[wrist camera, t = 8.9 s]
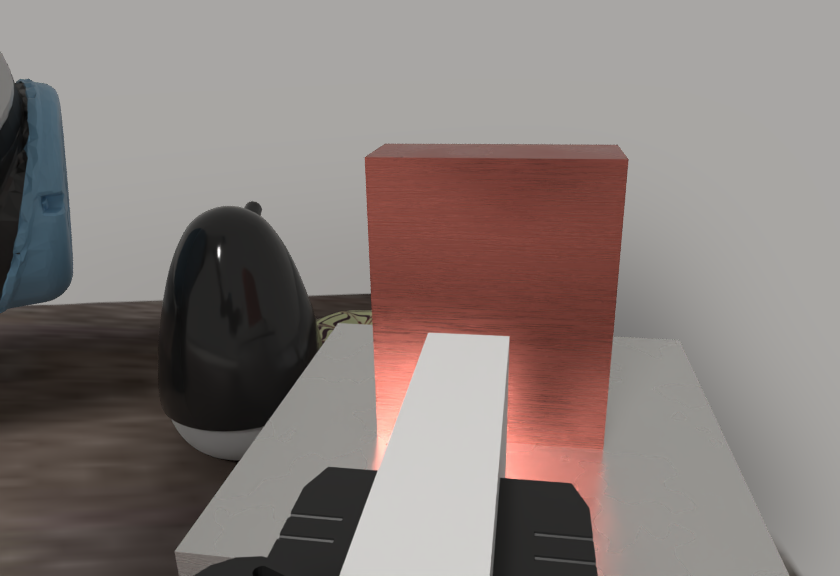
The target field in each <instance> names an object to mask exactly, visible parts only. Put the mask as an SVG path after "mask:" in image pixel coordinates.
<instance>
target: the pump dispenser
mask: <svg viewBox="0 0 840 576" xmlns="http://www.w3.org/2000/svg"><path fill="white" fill-rule="evenodd" d="M261 211H262V208H261V206H260V205H259V204H258V203H257V202H253V201H252V202H249V203H247V204H246V206H245V208H241V207H235V206H222V207H217V208H213V209H211V210H208V211H206V212H204V213H202V214H201V215H199V216H198V217H197V218H195V219H194V220H193V221H192V222H191V223H190V224H189V226H188V227H187V229H186V230H185V232H184V233H183V235H182V237H181V239H180V241H179V243H178V246H177V248H176V250H175V253H174V256H173V259H172V262H171V265H170V269H169V273H168V277H167V282H166V287H165V292H164V298H163V305H162V312H161V319H160V328H159V340H158V389H159V397H160V402H161V406H162V409H163V411H164V412H165V414H166V415H167V416H168V417H169V418H171V420H172V422H173V424H174V425H175V427H176V429H177V430H178V432H179V433H180V435H181V436H182V437H183V438H184V439H185V440H186V441H187V442H188V443H189V444H190V445H191V446H193V447H194V448H196V449H197V450H199V451H201V452H203V453H205V454H207V455H210V456H212V457H216V458H220V459H226V460H241V458H242V457H243V455H244V454H245V453H246V451H247V450H248V448H249V447H250V446H251V444H252V443H253V441H254V440H255V439H256V437H257V436H258V434H259V433H260V432H261V430H262V429H263V427H264V426H265V425H266V423H267V422H268V420H269V419H270V418H271V416H272V415H273V413H274V412H275V411H276V409H277V408H278V406H279V405H280V404H281V402H282V401H283V399H284V398H285V397H286V395H287V394H288V393H289V391H290V390H291V388H292V387H293V386H294V384H295V383H296V381H297V380H298V379H299V377H300V376H301V374H302V373H303V372H304V370H305V369H306V367H307V366H308V365H309V363H310V362H311V360H312V359H313V358H314V356H315V355H316V353H317V352H318V351H319V349H320V348H321V346H322V345H323V344H322V340H321V336H320V332H319V328H318V325H317V321H316V318H315V315H314V311H313V309H312V306H311V303H310V300H309V297H308V295H307V292H306V289H305V287H304V284H303V282H302V279H301V277H300V275H299V272H298V270H297V268H296V266H295V263H294V261H293V259H292V257H291V255H290V254H289V252H288V250H287V248H286V246H285V245H284V243H283V242H282V240H281V239H280V237H279V236H278V234H277V233H276V232H275V230H274V229H273V228H272V227H271V226H270V224H269V223H268V222H267V221H266V220H265V219H263V218H262V217H261Z"/></svg>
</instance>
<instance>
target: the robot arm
mask: <svg viewBox="0 0 840 576" xmlns="http://www.w3.org/2000/svg"><path fill="white" fill-rule="evenodd" d="M66 170H67V169H66V159H65V148H64V136H63V126H62V116H61V108H60V102H59V98H58V94H57V92H56V90H55V89H54V88H52V87H51V86H49V85H48V84H44V83H36V82H33V81H32V80H30V79H25V80H24V79H20V80H18V81H17V82H16V83H14V80H13V77H12V74H11V72H10V69H9V67H8V64H7V63H6V61H5V59H4V57H3V55H2V53H1V52H0V313H2V312H4V311H6V309H9V308H15V307H20V306H26V305H32V304H37V303H43V302H47V301H51V300H53V299H55V298H57V297H59V296H60V295H62V294H63V293H64V292H65V291H66V290H67V288H68V287H69V285H70V283H71V280H72V277H73V253H72V237H71V236H72V235H71V222H70V207H69V194H68V182H67V171H66ZM509 337H510V336H493V335H471V334H449V333H428V335H427V337H426V340H425V343H424V346H423V348H422V351H421V354H420V356H419V359H418V362H417V365H416V367H415V370H414V373H413V376H412V378H411V381H410V384H409V387H408V389H407V392H406V395H405V397H404V400H403V403H402V406H401V408H400V411H399V414H398V417H397V419H396V422H395V425H394V428H393V430H392V433H391V436H390V439H389V441H388V444H387V447H386V449H385V452H384V455H383V458H382V460H381V463H380V466H379V469H378V471H377V470H365V469H352V468H339V467H327V468H326V469H325V470H324V471H322V472H321V473H320V474H319V475H318V476H316V477H315V478H314V479H313V480H312V481H310V482H309V483H308V484H307V485H305V486H304V487H303V489H302V491H301V493H300V495H299V497H298V499H297V501H296V503H295V505H294V507H293V509H292V511H291V515H290V517H288V518H287V520H286V522H285V524H284V526H283V528H282V530H281V532H280V536H279V539H276V541H275V543H274V545H273V547H272V549H271V551H270V553H269V555H268V557H263V556H255V557H236V558H233V559H229V560H226V561H223V562H220V563H216V564H213V565H210V566H208V567H207V568H205V569H203V570H202V571H200V572H199V573H197V574H195V575H194V576H598V573H597V567H596V557H595V548H594V542H593V532H592V524H591V515H590V508H589V507H588V505H587V504H586V502H585V501H584V500H583V498H582V497H581V496H580V494H579V493H578V491H577V490H576V489H575V487H574V486H573V484H572V483H563V482H550V481H537V480H525V479H512V478H505V472H506V447H507V411H508V374H509Z"/></svg>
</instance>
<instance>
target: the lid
mask: <svg viewBox="0 0 840 576" xmlns="http://www.w3.org/2000/svg"><path fill="white" fill-rule="evenodd" d="M627 169H628V158H627V157H626V155H625V154H624V153H623V152H622V150H621V149H620V147H619V146H618V145H546V144H540V145H539V144H534V145H533V144H528V145H527V144H384V145H383V146H381V147H379V148H378V149H376V150H375V151H373V152H372V153H370V154H369V155H367V156H366V157H365V173H366V194H367V216H368V236H369V258H370V281H371V303H372V324H373V325H366V324H346V323H338V324H337V326H336V327H335V328H334V330H333V331H332V332H331V334H330V335H329V337H328V338H327V339H326V341H325V342H324V344H323V345H322V346H321V348H320V349H319V351H318V352H317V353H316V355H315V356H314V358H313V359H312V360H311V362H310V363H309V365H308V366H307V367H306V369H305V370H304V372H303V373H302V374H301V376H300V377H299V379H298V380H297V381H296V383H295V384H294V386H293V387H292V388H291V390H290V391H289V393H288V394H287V395H286V397H285V398H284V399H283V401H282V402H281V404H280V405H279V406H278V408H277V409H276V411H275V412H274V413H273V415H272V416H271V418H270V419H269V420H268V422H267V423H266V425H265V426H264V427H263V429H262V430H261V432H260V433H259V434H258V436H257V437H256V439H255V440H254V441H253V443H252V444H251V446H250V447H249V448H248V450H247V451H246V453H245V454H244V455H243V457H242V458H241V460H240V461H239V462H238V464H237V465H236V466H235V468H234V469H233V471H232V472H231V473H230V475H229V476H228V478H227V479H226V480H225V482H224V483H223V485H222V486H221V487H220V489H219V490H218V492H217V493H216V494H215V496H214V497H213V499H212V500H211V501H210V503H209V504H208V506H207V507H206V508H205V510H204V511H203V513H202V514H201V515H200V517H199V518H198V520H197V521H196V522H195V524H194V525H193V527H192V528H191V529H190V531H189V532H188V533H187V535H186V536H185V538H184V539H183V540H182V542H181V543H180V545H179V546H178V547H177V549H176V550H175V556H176V562H177V568H178V573H179V576H194V575H195V574H197V573H199V572H200V571H202V570H203V569H205V568H207V567H208V566H210V565H213V564H216V563H220V562H223V561H226V560H229V559H233V558H236V557H255V556H263V557H268V555H269V553H270V551H271V549H272V547H273V545H274V543H275V541H276V539H279V536H280V532H281V530H282V528H283V526H284V524H285V522H286V520H287V518H288V517H290V515H291V511H292V509H293V507H294V505H295V503H296V501H297V499H298V497H299V495H300V493H301V491H302V489H303V487H304V486H305V485H307V484H308V483H309V482H310V481H312V480H313V479H314V478H315V477H316V476H318V475H319V474H320V473H321V472H322V471H324V470H325V469H326V468H327V467H339V468H352V469H365V470H377V471H378V469H379V466H380V463H381V460H382V458H383V455H384V452H385V449H386V447H387V444H388V441H389V439H390V436H391V433H392V430H393V428H394V425H395V422H396V419H397V417H398V414H399V411H400V408H401V406H402V403H403V400H404V397H405V395H406V392H407V389H408V387H409V384H410V381H411V378H412V376H413V373H414V370H415V367H416V365H417V362H418V359H419V356H420V354H421V351H422V348H423V346H424V343H425V340H426V337H427V335H428V333H449V334H471V335H493V336H510V337H509V374H508V411H507V447H506V472H505V478H512V479H525V480H537V481H550V482H563V483H572V484H573V486H574V487H575V489H576V490H577V491H578V493H579V494H580V496H581V497H582V498H583V500H584V501H585V502H586V504H587V505H588V507H589V508H590V515H591V524H592V532H593V542H594V548H595V557H596V567H597V573H598V576H789V574H788V572H787V570H786V568H785V565H784V563H783V561H782V559H781V557H780V555H779V553H778V550H777V548H776V546H775V544H774V542H773V540H772V538H771V535H770V533H769V531H768V529H767V527H766V525H765V523H764V521H763V518H762V516H761V514H760V512H759V510H758V508H757V505H756V504H755V501H754V499H753V497H752V495H751V493H750V490H749V488H748V486H747V484H746V482H745V480H744V478H743V476H742V473H741V471H740V469H739V467H738V465H737V463H736V461H735V459H734V456H733V454H732V452H731V450H730V448H729V446H728V443H727V441H726V439H725V437H724V435H723V433H722V431H721V428H720V426H719V424H718V422H717V420H716V418H715V416H714V413H713V411H712V409H711V407H710V405H709V403H708V401H707V399H706V396H705V394H704V392H703V390H702V388H701V386H700V383H699V381H698V379H697V377H696V375H695V373H694V370H693V369H692V366H691V364H690V362H689V360H688V358H687V356H686V354H685V351H684V349H683V347H682V345H681V343H680V341H679V340H670V339H650V338H630V337H613V332H614V320H615V308H616V297H617V285H618V274H619V262H620V251H621V239H622V228H623V216H624V205H625V193H626V182H627Z"/></svg>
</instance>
